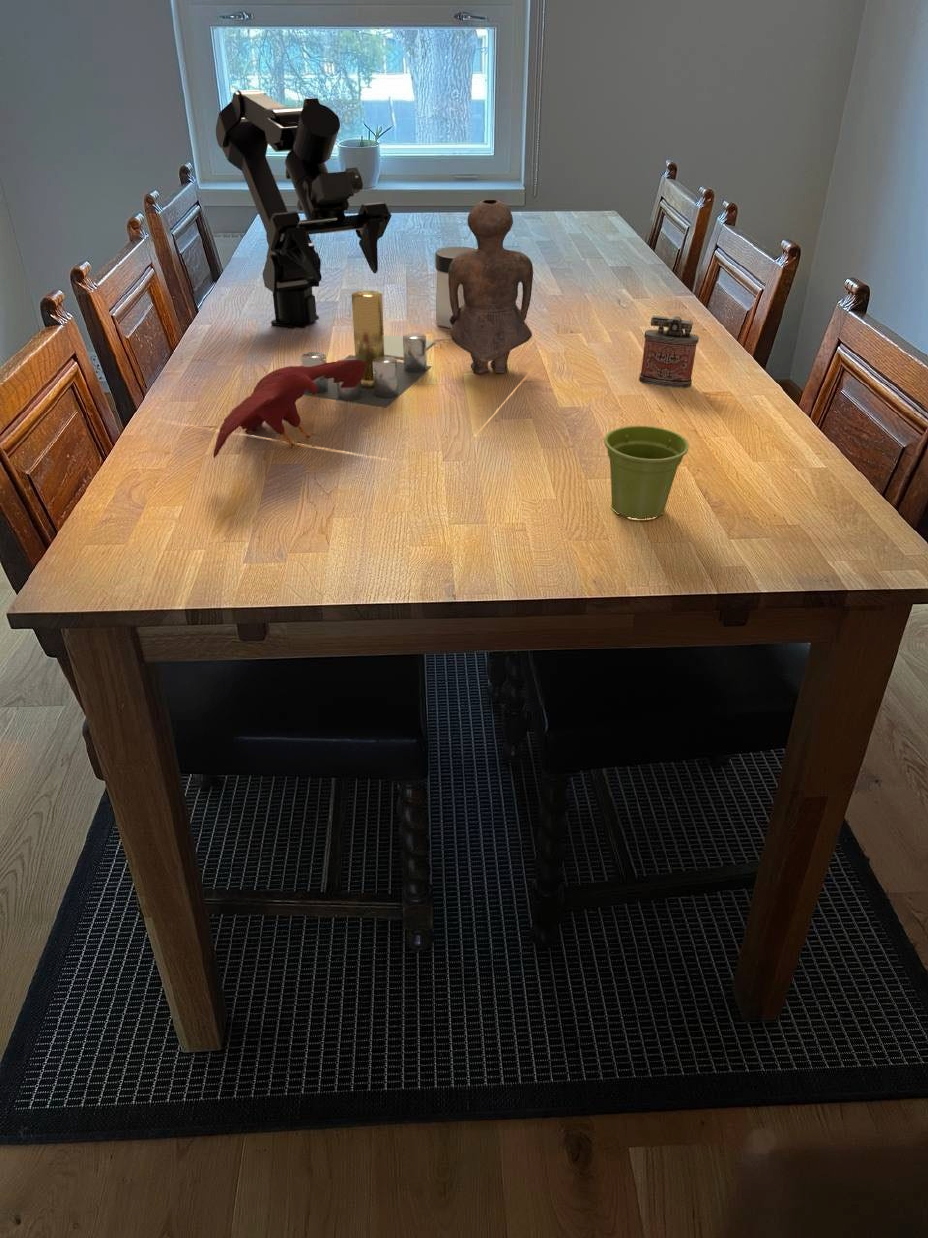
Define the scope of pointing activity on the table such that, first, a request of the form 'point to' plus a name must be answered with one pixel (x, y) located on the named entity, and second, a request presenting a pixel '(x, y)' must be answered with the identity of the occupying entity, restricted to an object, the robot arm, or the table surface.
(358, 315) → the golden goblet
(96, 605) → the table surface
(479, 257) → the clay figurine
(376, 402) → the mat
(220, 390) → the table surface
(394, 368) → the spacers
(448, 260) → the jar
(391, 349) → the tile
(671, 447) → the plant pot
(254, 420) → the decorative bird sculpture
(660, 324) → the lighter
